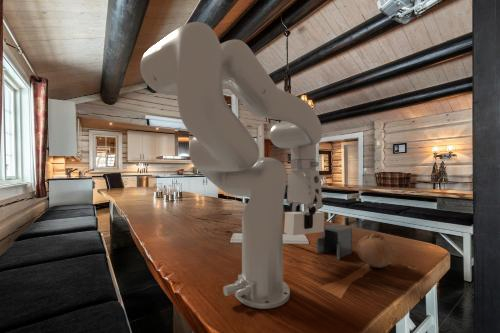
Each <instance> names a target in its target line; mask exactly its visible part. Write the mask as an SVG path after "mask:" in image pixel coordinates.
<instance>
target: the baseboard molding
mask: <svg viewBox="0 0 500 333" xmlns="http://www.w3.org/2000/svg"><path fill="white" fill-rule="evenodd" d="M229 239H230V240H229V244H242V232H241V233H239V232H238V233H237V232H235V233H234V231H233V232H232V233H231V237H229ZM309 241H310V240H308V238H307V236H306V234H302V235H294V236H293V235H289V234H286V233H283V245H310V242H309Z"/></svg>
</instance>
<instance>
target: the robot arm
mask: <svg viewBox="0 0 500 333" xmlns="http://www.w3.org/2000/svg"><path fill="white" fill-rule="evenodd" d="M139 67H140V73H141V75H142V76H141V77H142V79H143V81H144V82H145V83H146V85H147V86H148V87H149V88H150V89H152V90H153V91H154V92H156V93H159V94H161V95H165V96H177V97H176V98H177V106H178V112H179V115H180V116H179V117H180V118H181V121H182V123H183V125H184V127H185V128H186V129H187V131H188V132H189V134H190V135H192V136H193V137H192V139H191V140H190V142H189V147H188V155H189V158H190V160H191V163H192V164H193V166H194V167H195V169H196V170H197V172H199V173H200V174H202V176H204V177H205V178H206V180H207V179H208V180H209V181H210V182H211V183H212V184H214V185H215V186H216V188H219V189H220V190H221V191H222V192H223V193H225V194H227V195H229V196H234V197H235V196H236V197H243V198H244V197H247V198H249V199H248V202H247V203H246V205H245V208H244V209H243V213H242V216H241V233H242V243H241V273H240V274H238V275H237V280H235V281H234V283H230V284H227V285H224V286H223V287H222V292H223V295H224V296H226V297H229V296H230V295H233V294H234V296H235V298H236V299H237V300H238V301H239V302H240V303H241V304H243V305H245V306H247V307H250V308H254V309H260V310H263V309H264V310H266V309H269V310H270V309H274V308H279V307H281V306H283V305H284V304H285V303H287V302H288V301H289V300H290V296H291V289H290V286H289V285H288V284H287V283H286V282H284V244H283V234H284V224H283V223H284V221H283V218H284V216H283V215H284V202H285V203H286V204H287V205H288V206H289V208H291V212H302V205H304V208H305V209H304V210H305V211H306V215H304V228H305V229H309V228H312V227H313V215H314V214H315V212H316V211H318V210H319V209H322V208H323V207H324V204H323V202H322V200H323V198H322V197H323V196H322V192H323V191H322V182H321V175H320V173H319V170H317V168H318V167H319V164H320V162H318V161H317V144H319V143H320V141H321V140H322V137H323V126H322V124H321V121H320V118H319V117H318V115H317V114H316V112H315V110H314V108H313V107H312V106H311V105H310V104H309V103H308V102H307V101H306V100H304V99H302V98H300V97H298V96H296V95H294V94H293V93H290V92H288V91H286V90H284V89H283V90H282V89H280V88H279V87H278V86H277V85H276V83H275V82H274V81H273V79H272V78H271V77H270V75H269V74H268V71H266V69H265V68H264V67H263V65H262V63H261V62H260V61H259V59H258V58H257V56H256V55H255V53H254V52H253V51H252V49H251V48H250V46H249V45H248V44H246V43H245V42H244V41H243V40H240V39H230V40H227V41H224V42H222V43H221V42H220V40H219V37H218V35H217V34H216V33H215V31H214V30H213V29H212V28H211V26H210V25H208V24H206V23H204V22H201V21H192V22H189V23H185V24H183V25H181V26H180V27H178V28H176V29H175V30H174V31H172V32H171V33H169V34H168V35H166V36H165V37H164V38H162V39H161V40H160V41H158V42H157V43H156V44H154V45H152V46H151V47H150V48H148V50H147V51H146V52H144V54H143V56H142V57H141V60H140V66H139ZM225 89H227V90H229V91H230V92H231V93H232V94H233V95H234V96H235V97H236V98H237V99H238V101H239V102H241V103H242V105H243V107H245V108H246V110H248V111H249V113H251V114H252V115H253V116H257V117H259V118H265V119H269V120H275V121H276V120H278V121H281V122H278V123H276V124H274V125H273V126H272V127H271V128H270V131H269V139H270V141H271V143H272V144H273V145H274V146H275V147H277V148H280V149H286V148H288V149H290V170H289V172H288V173H289V174H288V173H287V168H286V166H285V165H284V164H283V163H282V161H280V160H279V159H276V158H273V157H267V156H266V157H265V156H264V157H263V156H260V148H259V145H258V143H257V141H256V140H255V138H254V136H253V135H252V134H251V133H250V132H249V130H248V129H247V127H246V126H245V125H244V124H243V122H241V120H240V119H239V117H238V116H237V115H236V114H235V113H234V111H233V110H232V109H231V107H230V106H229V104H228V103H227V100H226V98H225V95H224V91H223V90H225ZM286 188H287V190H286ZM286 191H287V198H286V200H285V194H286Z"/></svg>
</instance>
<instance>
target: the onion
mask: <svg viewBox="0 0 500 333" xmlns="http://www.w3.org/2000/svg"><path fill="white" fill-rule="evenodd" d="M356 253H357V255H358V257H359V259H360V261H363V263H365V264H366V265H368V266H369V267H371V268H379V269H382V268H383V267H385V268H386V267H387V266H388V265H389V264H390V263H391V262H392V261H393V257H394V251H393V247H392V245H391V243H390V242H389V241H388V240H387V239H386V238H385V236H383V235H380V234H379V233H376V232H372V233H369V234H367V235H365V236H363V237H361V238H360V239H359V240H358V242H357V245H356Z"/></svg>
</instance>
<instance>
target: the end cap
mask: <svg viewBox="0 0 500 333" xmlns="http://www.w3.org/2000/svg"><path fill="white" fill-rule="evenodd" d="M321 233H322V234H321V235H322V237H316V253H317V254H320V253H321V254H322V253H323V254H324V253H327V252H330V251H333V250H336V261H337V260H338V261H340V260H341V258H344V257H346V256H349V255H352V254H353V227H352V226H346V225H341V224H337V223H332V224H328V225H324V232H321Z"/></svg>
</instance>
